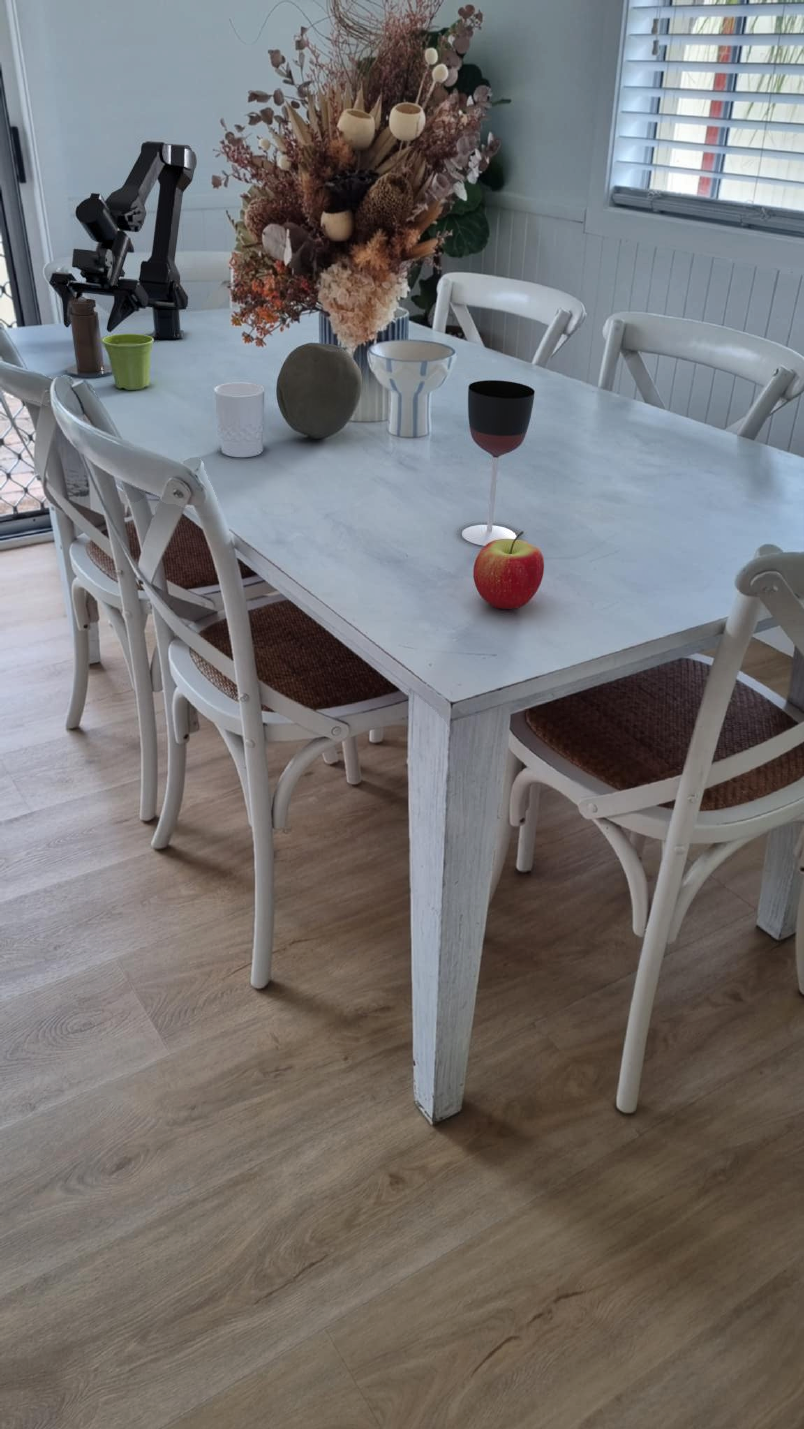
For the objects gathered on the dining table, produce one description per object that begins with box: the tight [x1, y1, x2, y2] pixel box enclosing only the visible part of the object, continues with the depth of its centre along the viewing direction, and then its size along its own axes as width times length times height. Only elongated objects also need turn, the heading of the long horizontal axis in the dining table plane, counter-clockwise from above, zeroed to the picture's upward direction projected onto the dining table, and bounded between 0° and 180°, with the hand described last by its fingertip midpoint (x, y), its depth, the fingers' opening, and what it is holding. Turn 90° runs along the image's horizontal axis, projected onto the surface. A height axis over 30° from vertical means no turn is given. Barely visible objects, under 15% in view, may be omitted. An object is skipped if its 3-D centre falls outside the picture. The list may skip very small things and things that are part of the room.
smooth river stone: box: [275, 342, 363, 440], centre depth 176 cm, size 14×14×15 cm
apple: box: [472, 530, 545, 610], centre depth 126 cm, size 8×8×10 cm
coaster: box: [66, 364, 113, 379], centre depth 209 cm, size 9×9×1 cm
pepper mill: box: [69, 296, 105, 372], centre depth 205 cm, size 5×5×14 cm
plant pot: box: [101, 333, 155, 391], centre depth 199 cm, size 9×9×9 cm
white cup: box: [213, 381, 265, 458], centre depth 170 cm, size 8×8×10 cm
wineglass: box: [461, 379, 536, 547], centre depth 141 cm, size 8×9×20 cm
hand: (87, 328), depth 205 cm, fingers open, 9 cm apart
